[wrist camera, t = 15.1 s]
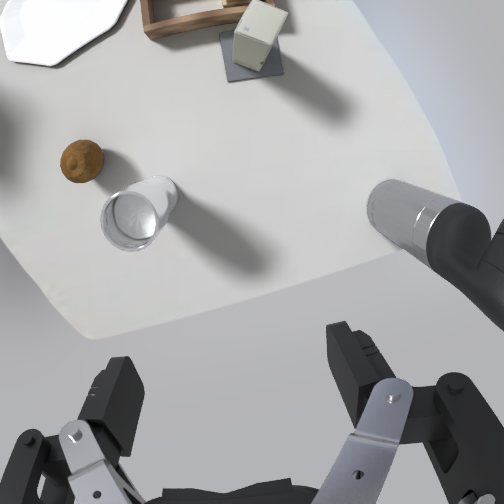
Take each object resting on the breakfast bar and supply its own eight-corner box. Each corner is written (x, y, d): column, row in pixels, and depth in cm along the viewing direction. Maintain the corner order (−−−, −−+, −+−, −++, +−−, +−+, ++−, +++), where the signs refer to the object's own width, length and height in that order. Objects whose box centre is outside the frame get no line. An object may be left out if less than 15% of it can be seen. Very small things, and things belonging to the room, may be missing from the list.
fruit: (90, 131, 40) (66, 131, 33) (119, 153, 42) (98, 157, 35) (69, 164, 42) (43, 170, 34) (97, 186, 43) (74, 196, 36)
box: (259, 73, 39) (271, 48, 27) (230, 61, 38) (232, 33, 26) (273, 43, 38) (290, 12, 26) (245, 32, 37) (252, -3, 25)
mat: (273, 26, 37) (273, 26, 37) (282, 74, 40) (283, 74, 40) (218, 33, 37) (218, 32, 37) (227, 81, 40) (227, 81, 39)
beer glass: (127, 196, 44) (87, 222, 30) (157, 162, 43) (126, 174, 29) (159, 227, 46) (132, 266, 32) (190, 195, 45) (174, 221, 31)
